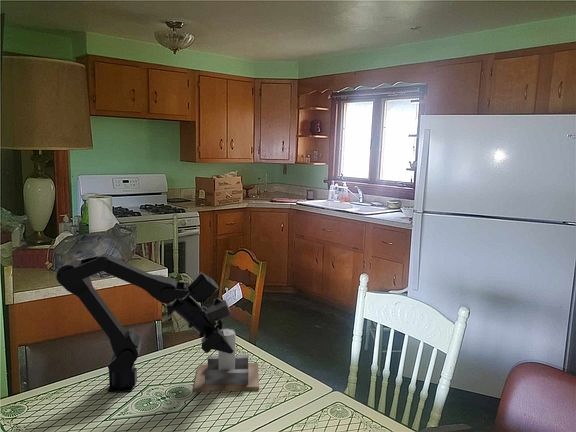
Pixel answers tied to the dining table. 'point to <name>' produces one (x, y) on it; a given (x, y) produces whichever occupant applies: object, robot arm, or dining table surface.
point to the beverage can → (225, 358)
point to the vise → (227, 376)
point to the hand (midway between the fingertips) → (231, 348)
